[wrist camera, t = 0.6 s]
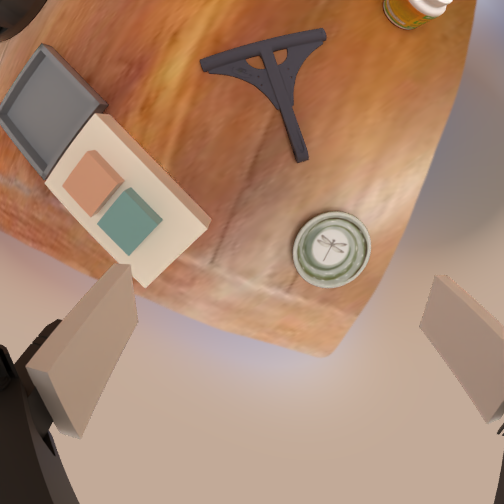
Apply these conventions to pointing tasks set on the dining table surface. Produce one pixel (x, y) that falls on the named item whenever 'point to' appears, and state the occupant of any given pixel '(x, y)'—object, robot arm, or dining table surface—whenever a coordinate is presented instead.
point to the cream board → (145, 185)
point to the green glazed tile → (129, 221)
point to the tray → (47, 109)
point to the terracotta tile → (92, 182)
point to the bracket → (272, 74)
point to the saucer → (331, 249)
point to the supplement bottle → (413, 11)
